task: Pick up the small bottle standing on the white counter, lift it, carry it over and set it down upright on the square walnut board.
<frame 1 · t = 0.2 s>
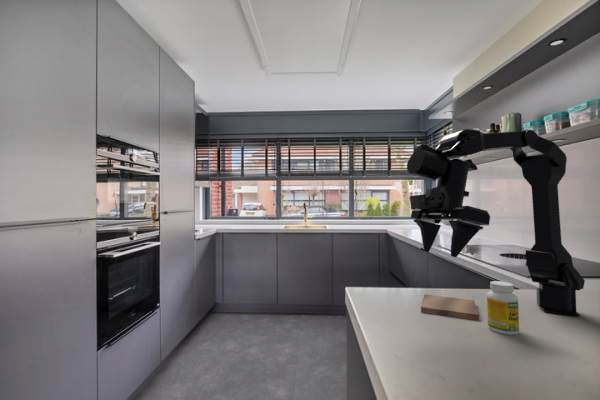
hand: (438, 253, 64), 15 cm above the countertop, tool pointing down, fingers open, 9 cm apart
walnut board: (448, 308, 73), on the countertop
supplement bottle: (503, 331, 60), on the countertop
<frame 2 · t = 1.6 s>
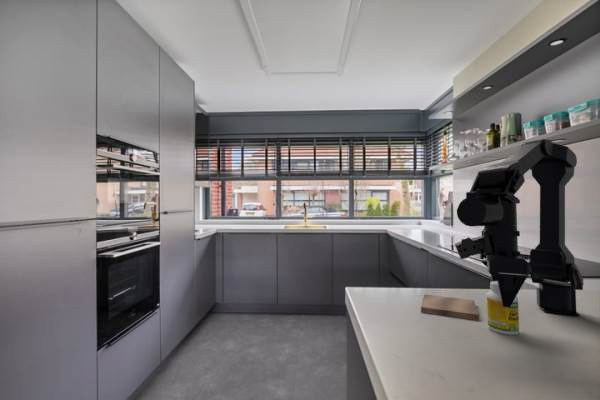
hand: (502, 300, 60), 6 cm above the countertop, tool pointing down, fingers open, 9 cm apart
nothing on the countertop moved.
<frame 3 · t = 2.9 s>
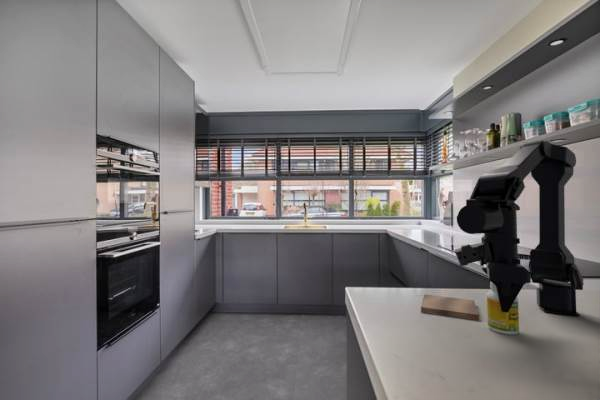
hand: (502, 307, 60), 5 cm above the countertop, tool pointing down, fingers closed on supplement bottle, 5 cm apart
supplement bottle: (503, 330, 60), on the countertop, touching gripper
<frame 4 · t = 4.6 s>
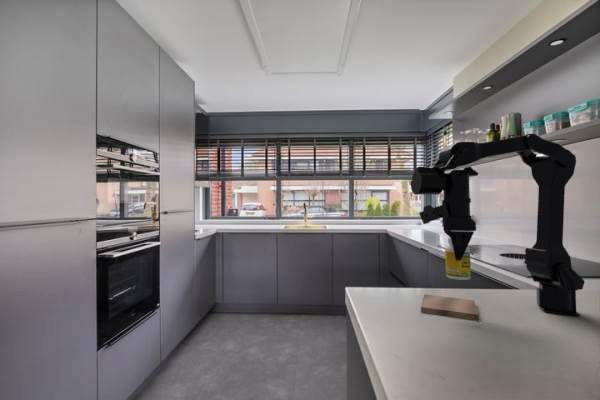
hand: (457, 258, 70), 13 cm above the countertop, tool pointing down, fingers closed on supplement bottle, 5 cm apart
supplement bottle: (458, 278, 70), point 8 cm above the countertop, touching gripper
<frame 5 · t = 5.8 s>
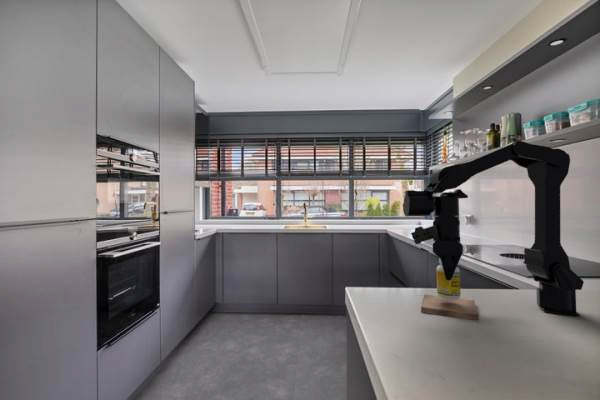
hand: (448, 277, 73), 8 cm above the countertop, tool pointing down, fingers closed on supplement bottle, 5 cm apart
supplement bottle: (448, 296, 73), point 3 cm above the countertop, touching gripper
when the fingers open (7 cm above the countertop, at t = 6.7 s): supplement bottle drops 1 cm, resting on walnut board.
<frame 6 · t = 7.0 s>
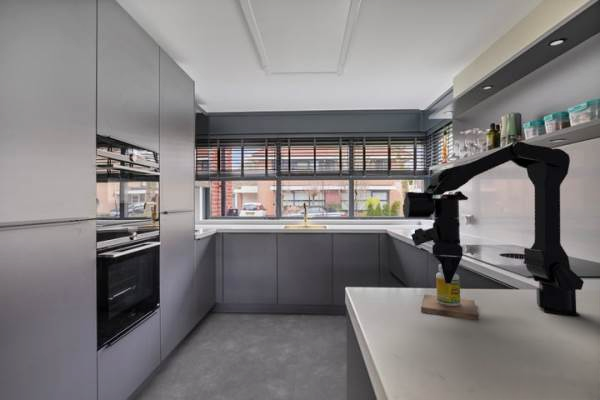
hand: (447, 279, 73), 7 cm above the countertop, tool pointing down, fingers open, 8 cm apart
supplement bottle: (448, 304, 73), point 1 cm above the countertop, touching walnut board
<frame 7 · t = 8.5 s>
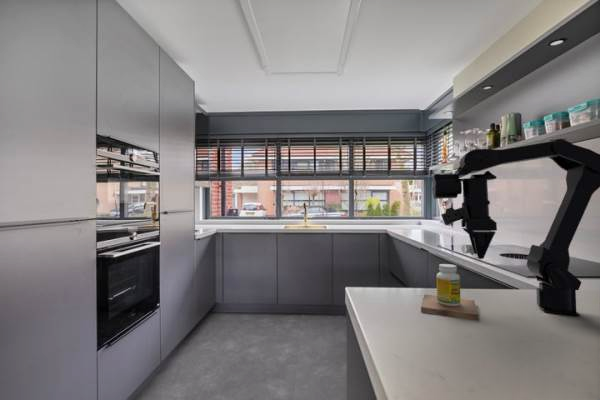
hand: (478, 256, 77), 13 cm above the countertop, tool pointing down, fingers open, 9 cm apart
nothing on the countertop moved.
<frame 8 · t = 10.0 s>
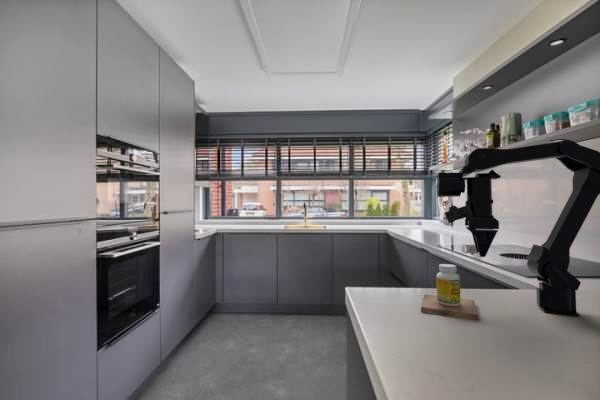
hand: (480, 254, 77), 13 cm above the countertop, tool pointing down, fingers open, 9 cm apart
nothing on the countertop moved.
at the end: supplement bottle inside the target area on the walnut board (0.0 cm from its centre), point 1.0 cm above the walnut board's base; supplement bottle tilted 0°; the gripper is holding nothing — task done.
